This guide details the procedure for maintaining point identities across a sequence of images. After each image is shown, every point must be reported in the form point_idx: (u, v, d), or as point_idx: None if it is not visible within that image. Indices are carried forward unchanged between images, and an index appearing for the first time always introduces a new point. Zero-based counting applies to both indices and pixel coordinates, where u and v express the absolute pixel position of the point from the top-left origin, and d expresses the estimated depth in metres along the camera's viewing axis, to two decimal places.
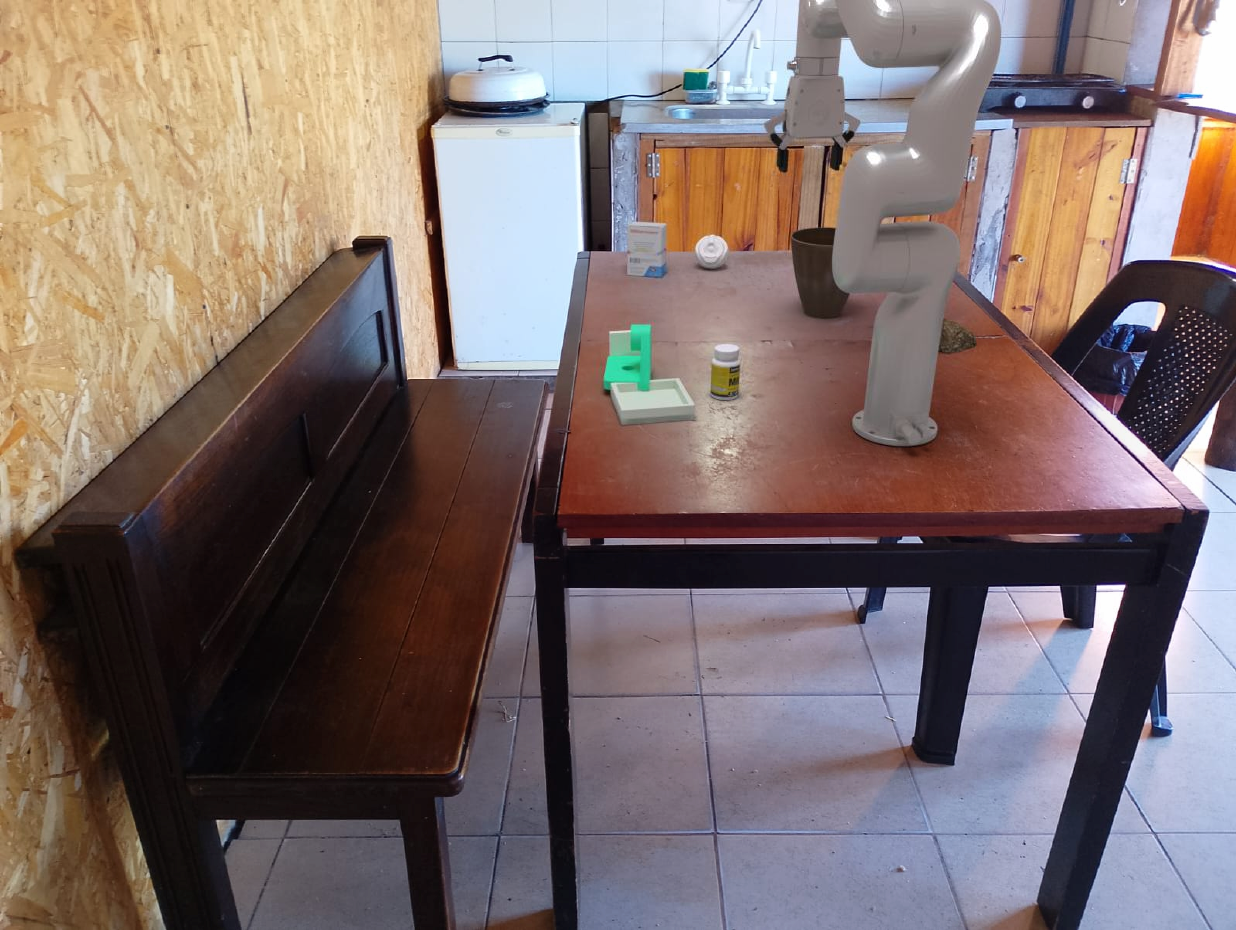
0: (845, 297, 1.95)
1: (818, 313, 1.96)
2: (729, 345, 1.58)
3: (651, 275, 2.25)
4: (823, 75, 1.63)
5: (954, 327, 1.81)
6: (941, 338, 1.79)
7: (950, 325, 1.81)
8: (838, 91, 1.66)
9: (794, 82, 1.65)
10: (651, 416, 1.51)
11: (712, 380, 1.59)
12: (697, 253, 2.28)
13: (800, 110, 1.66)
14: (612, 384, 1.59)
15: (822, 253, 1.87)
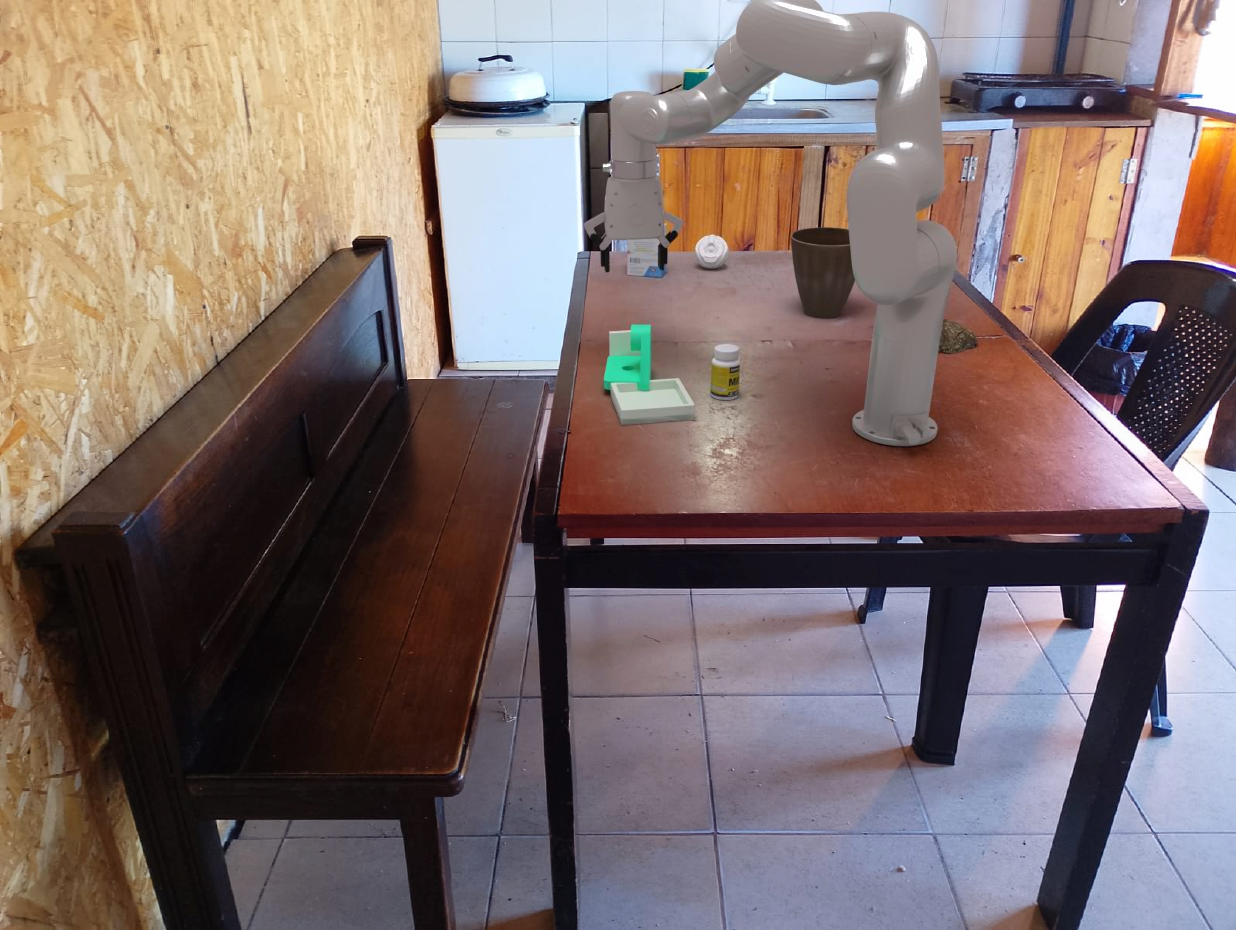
0: (845, 297, 1.95)
1: (818, 313, 1.96)
2: (729, 345, 1.58)
3: (651, 275, 2.25)
4: (636, 179, 1.60)
5: (955, 327, 1.81)
6: (942, 339, 1.79)
7: (951, 325, 1.81)
8: (654, 193, 1.63)
9: (609, 185, 1.62)
10: (651, 416, 1.51)
11: (712, 380, 1.59)
12: (697, 253, 2.28)
13: (616, 212, 1.64)
14: (612, 384, 1.59)
15: (822, 253, 1.87)
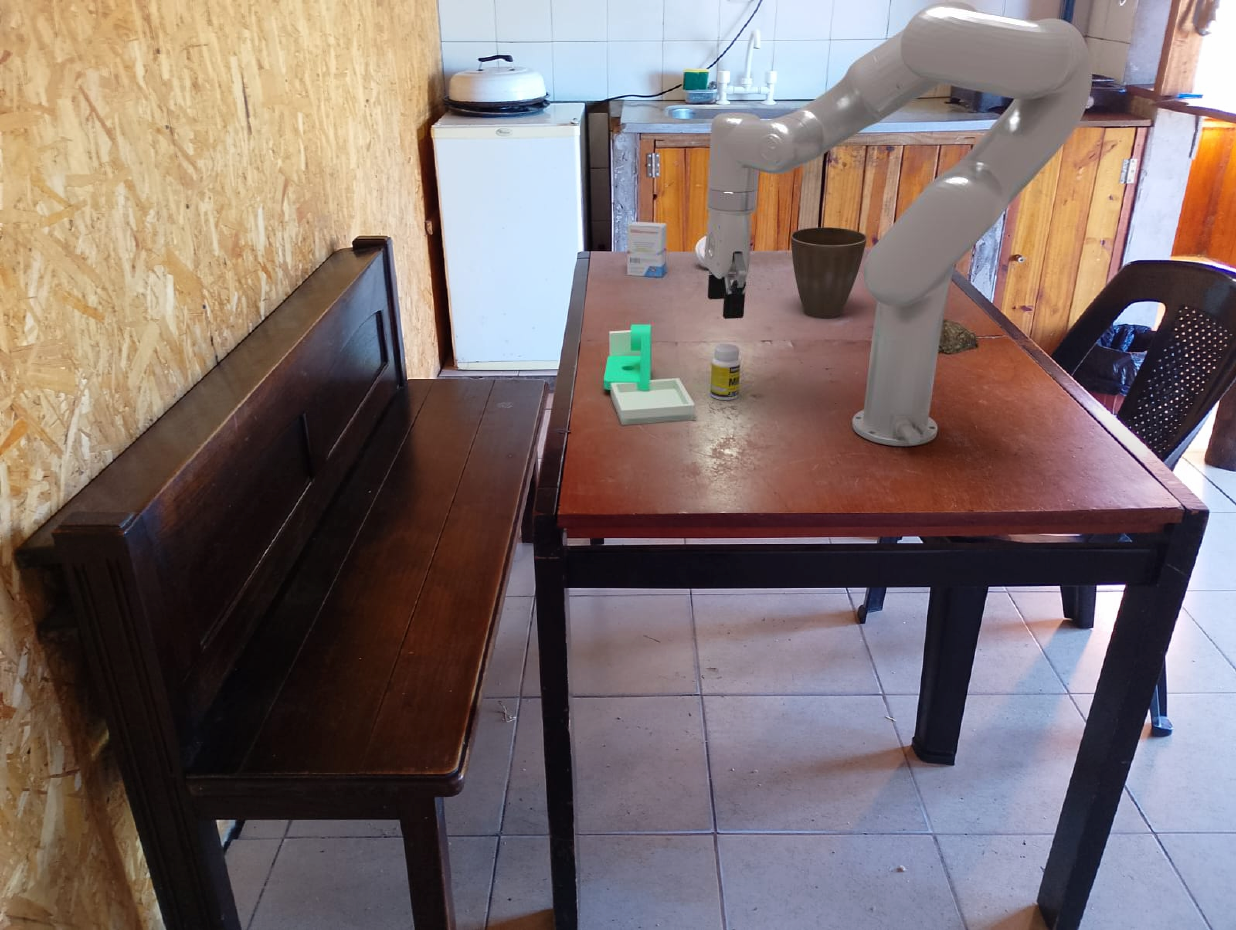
0: (845, 297, 1.95)
1: (818, 313, 1.96)
2: (729, 345, 1.58)
3: (651, 275, 2.25)
4: (707, 206, 1.47)
5: (956, 328, 1.81)
6: (943, 339, 1.79)
7: (952, 326, 1.81)
8: (719, 229, 1.45)
9: None
10: (651, 416, 1.51)
11: (712, 380, 1.59)
12: (697, 253, 2.28)
13: (707, 237, 1.52)
14: (612, 384, 1.59)
15: (822, 253, 1.87)
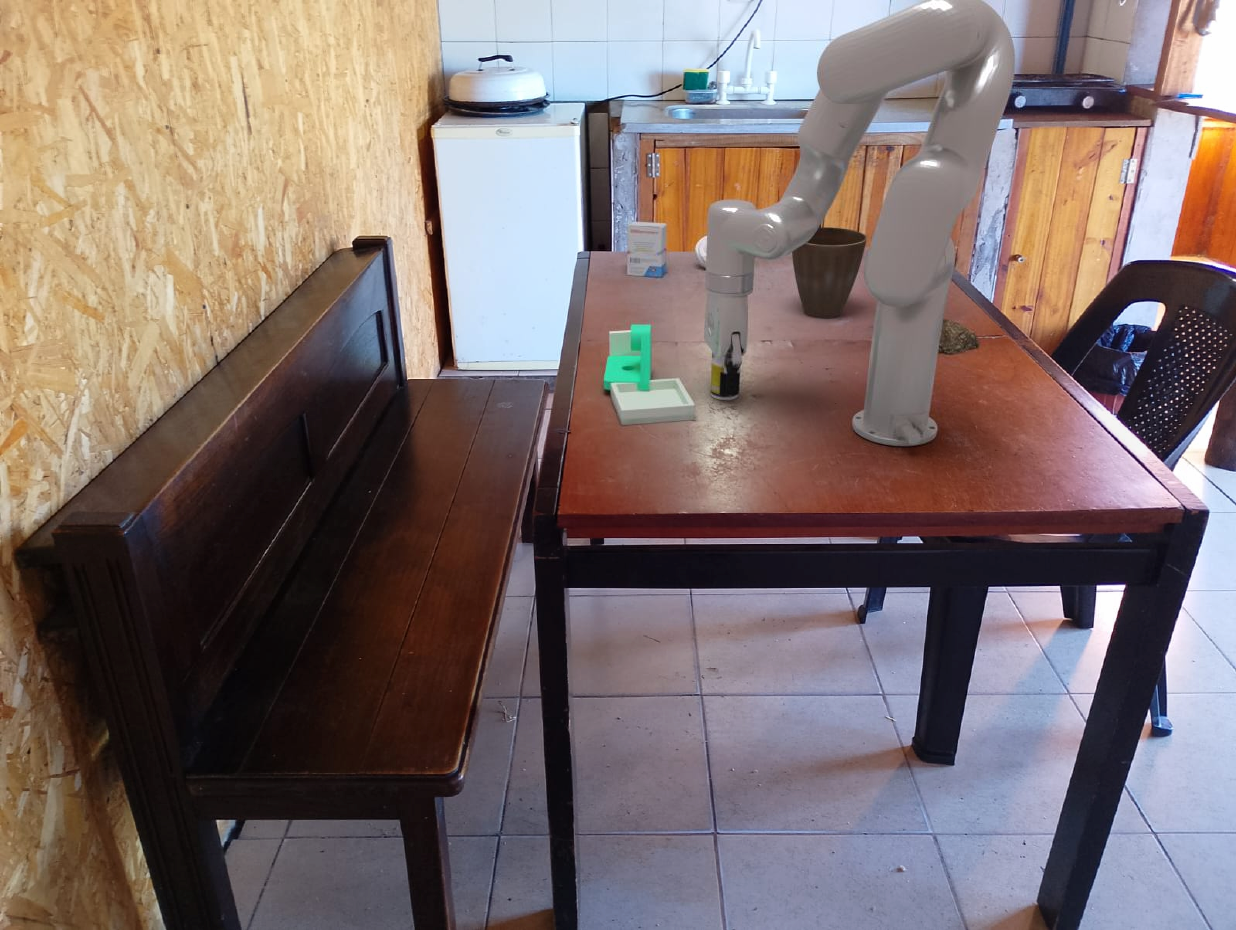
0: (845, 297, 1.95)
1: (818, 313, 1.96)
2: None
3: (651, 275, 2.25)
4: (706, 288, 1.52)
5: (956, 328, 1.81)
6: (943, 339, 1.78)
7: (952, 326, 1.81)
8: (717, 310, 1.51)
9: None
10: (651, 416, 1.51)
11: (712, 380, 1.59)
12: (697, 253, 2.28)
13: (706, 315, 1.58)
14: (612, 384, 1.59)
15: (822, 253, 1.87)
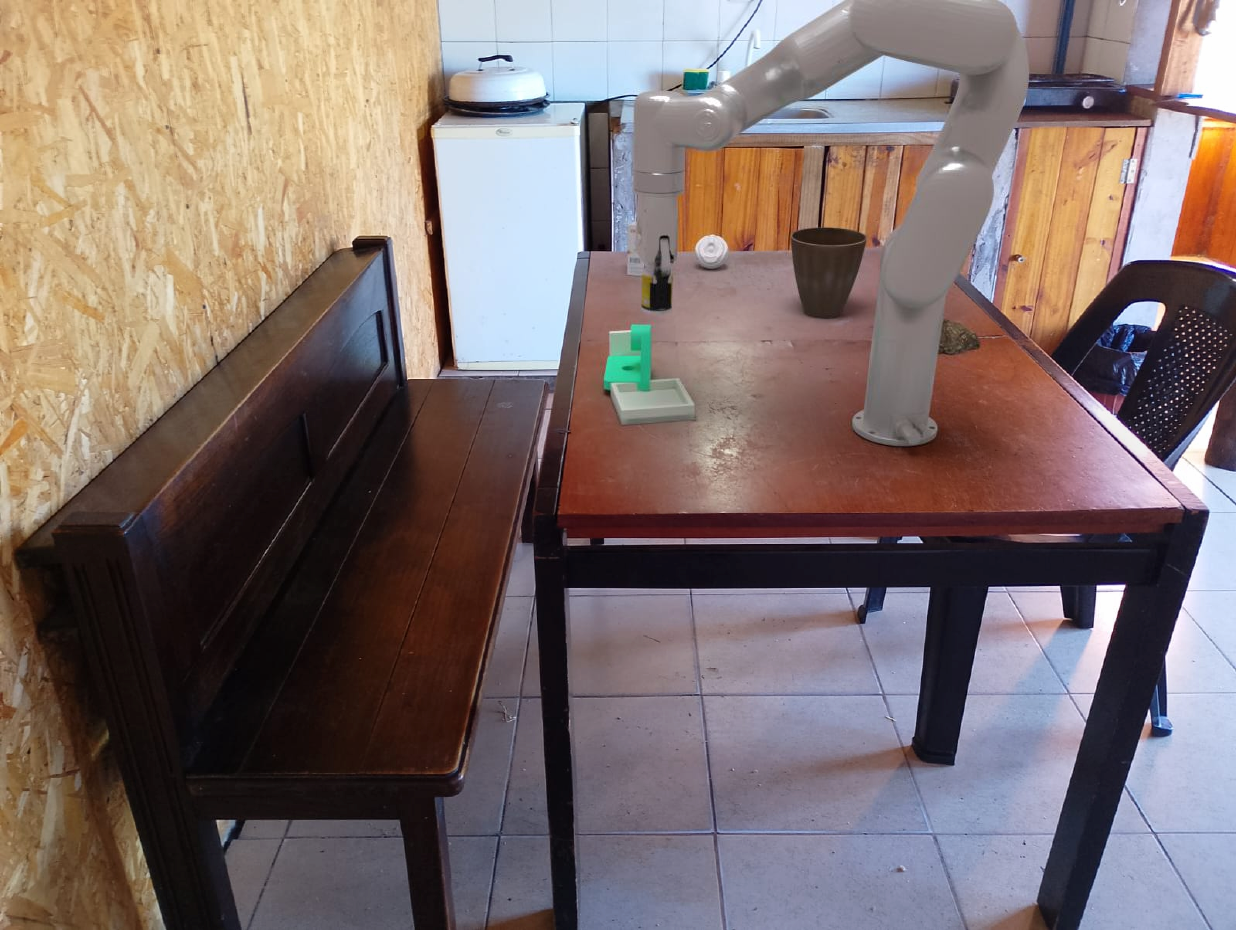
0: (845, 297, 1.95)
1: (818, 313, 1.96)
2: None
3: None
4: (633, 188, 1.41)
5: (957, 328, 1.80)
6: (944, 339, 1.78)
7: (953, 326, 1.80)
8: (645, 212, 1.39)
9: None
10: (651, 416, 1.51)
11: (642, 292, 1.48)
12: (697, 253, 2.28)
13: (636, 222, 1.47)
14: (612, 384, 1.59)
15: (822, 253, 1.87)
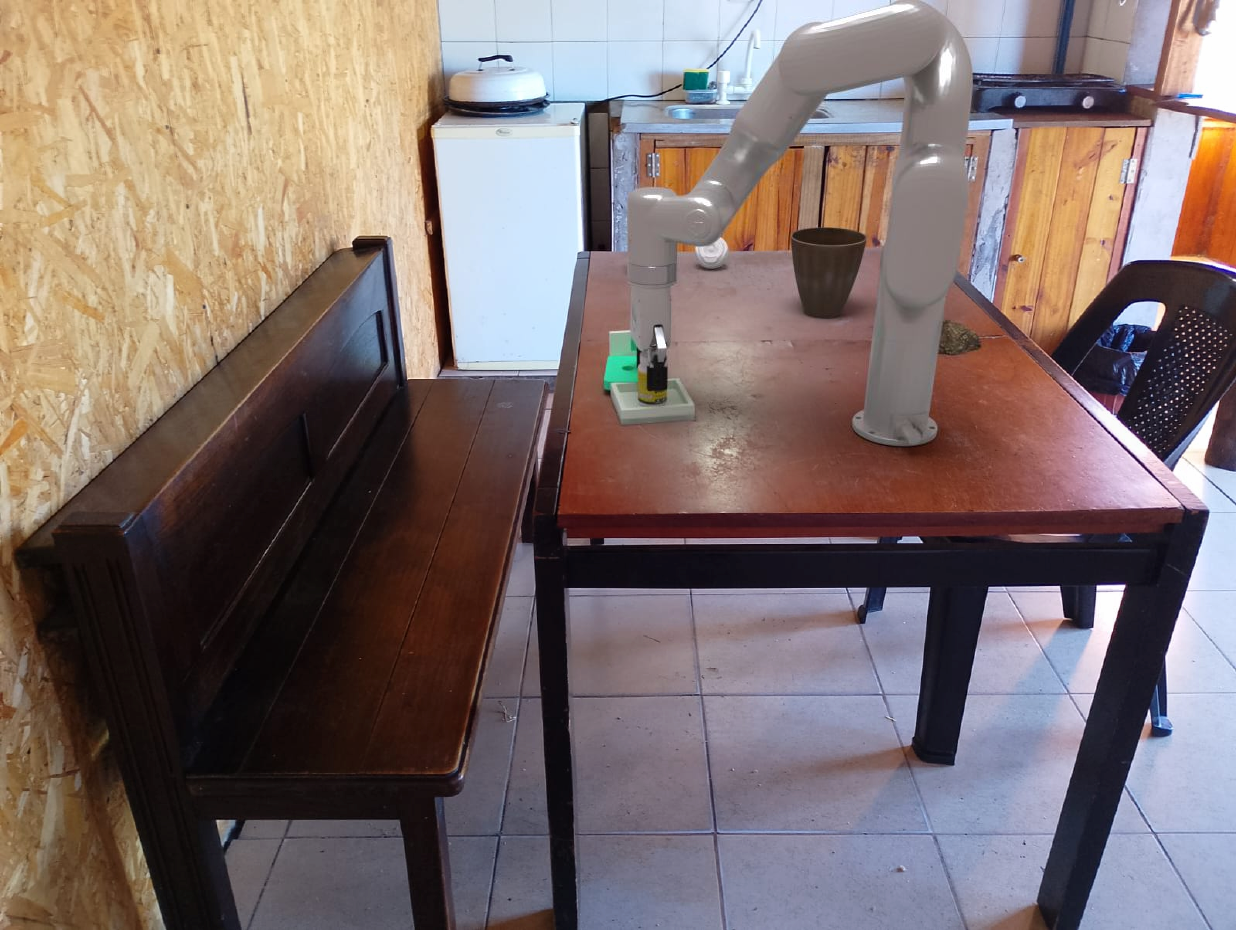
0: (845, 297, 1.95)
1: (818, 313, 1.96)
2: None
3: None
4: (628, 279, 1.47)
5: (958, 328, 1.80)
6: (945, 340, 1.78)
7: (954, 326, 1.80)
8: (639, 302, 1.45)
9: None
10: (651, 416, 1.51)
11: (638, 387, 1.54)
12: (697, 253, 2.28)
13: (631, 308, 1.52)
14: (612, 384, 1.59)
15: (822, 253, 1.87)
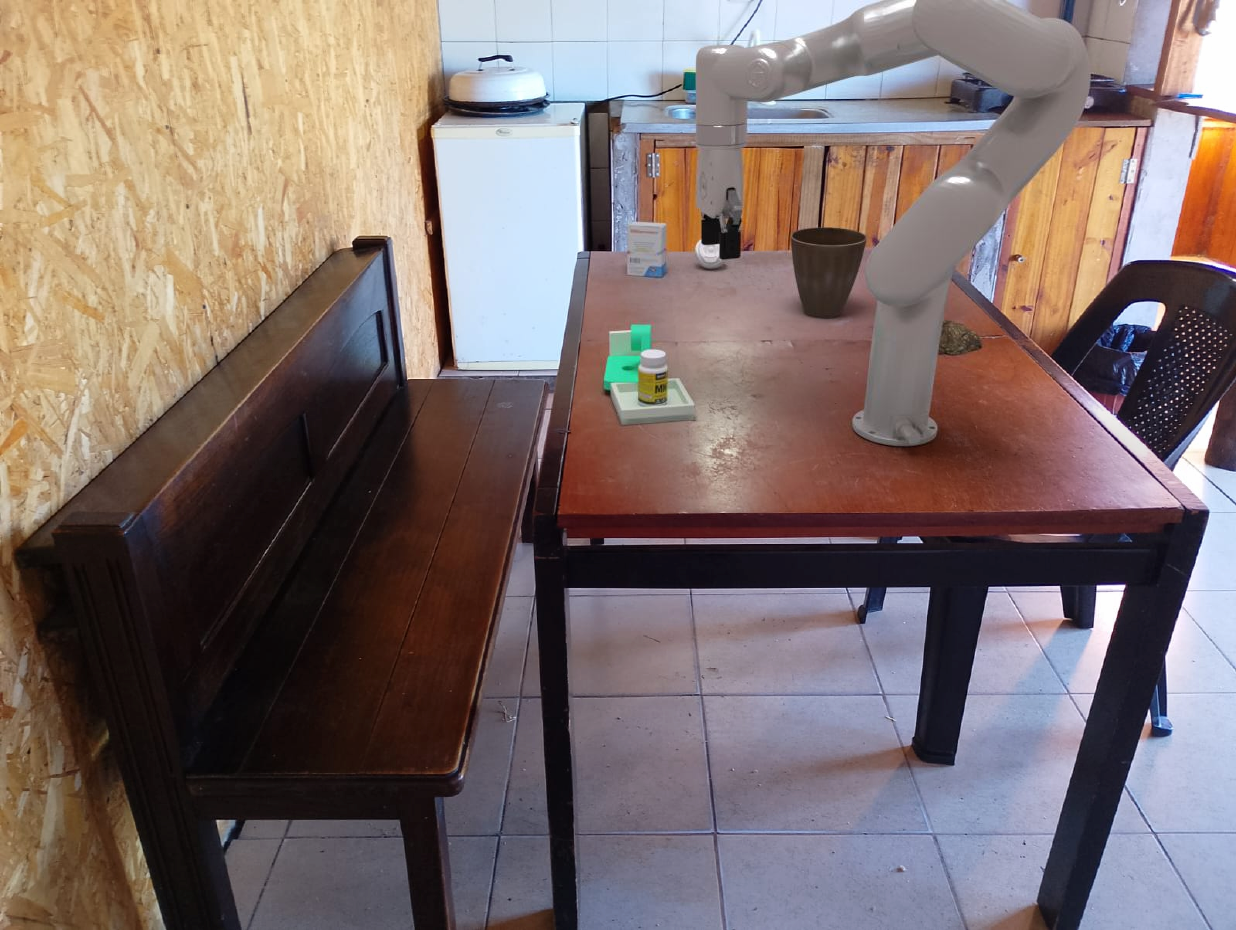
0: (845, 297, 1.95)
1: (818, 313, 1.96)
2: (656, 351, 1.53)
3: (651, 275, 2.25)
4: (697, 143, 1.43)
5: (959, 329, 1.80)
6: (946, 340, 1.78)
7: (955, 327, 1.80)
8: (710, 165, 1.41)
9: None
10: (651, 416, 1.51)
11: (639, 387, 1.54)
12: (697, 253, 2.28)
13: (697, 179, 1.48)
14: (612, 384, 1.59)
15: (822, 253, 1.87)
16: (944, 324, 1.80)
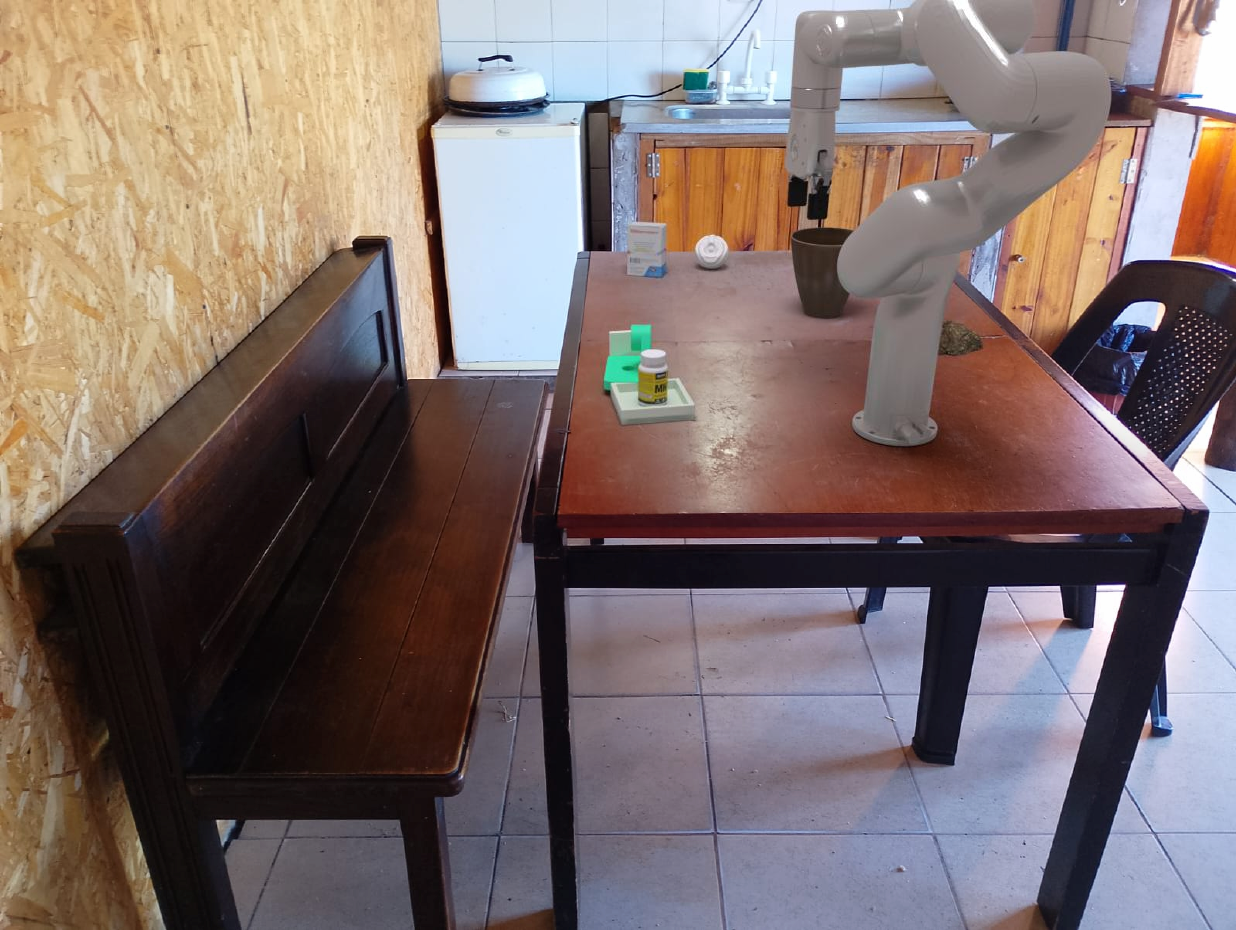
0: (845, 297, 1.95)
1: (818, 313, 1.96)
2: (657, 351, 1.54)
3: (651, 275, 2.25)
4: (791, 106, 1.48)
5: (960, 329, 1.80)
6: (947, 340, 1.78)
7: (956, 327, 1.80)
8: (804, 127, 1.46)
9: None
10: (651, 416, 1.51)
11: (639, 386, 1.54)
12: (697, 253, 2.28)
13: (788, 141, 1.53)
14: (612, 384, 1.59)
15: (822, 253, 1.87)
16: (945, 324, 1.80)
